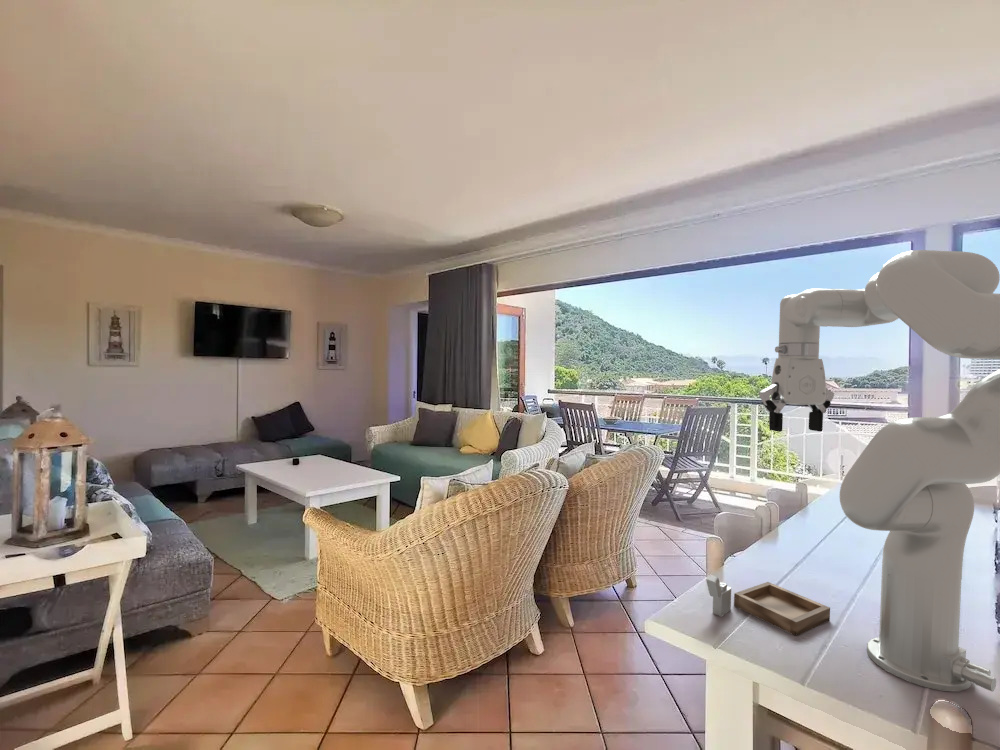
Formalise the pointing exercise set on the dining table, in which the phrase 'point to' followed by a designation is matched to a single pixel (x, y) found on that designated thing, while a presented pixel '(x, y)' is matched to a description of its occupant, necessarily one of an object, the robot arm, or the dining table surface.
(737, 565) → the dining table surface
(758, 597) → the tray
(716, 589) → the lighter
